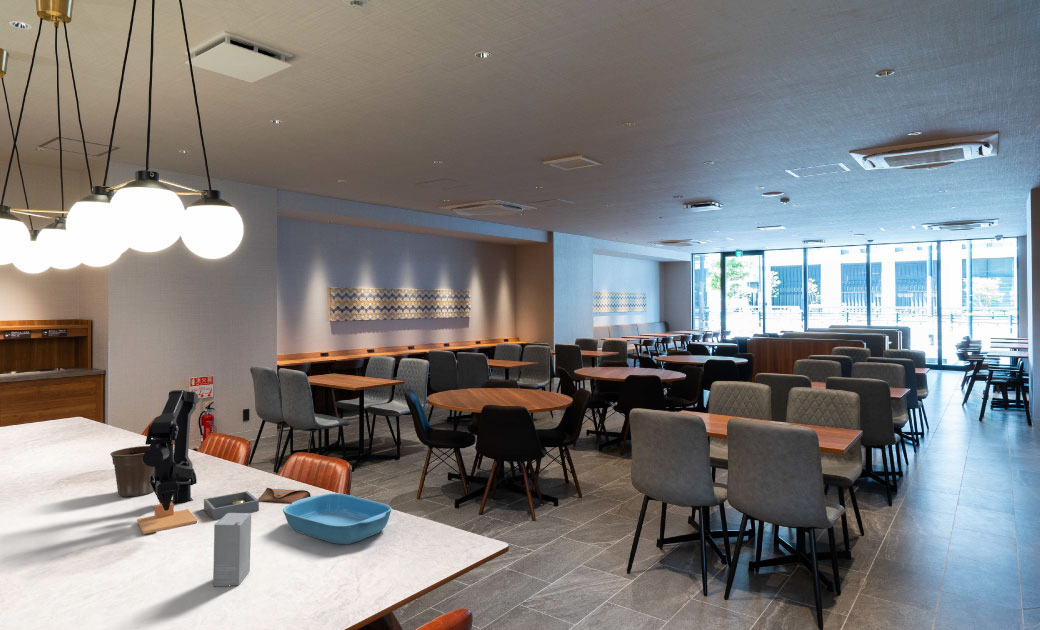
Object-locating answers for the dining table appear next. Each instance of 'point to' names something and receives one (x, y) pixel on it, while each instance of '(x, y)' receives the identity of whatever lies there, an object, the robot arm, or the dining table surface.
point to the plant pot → (132, 471)
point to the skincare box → (232, 549)
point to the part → (238, 501)
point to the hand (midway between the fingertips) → (164, 506)
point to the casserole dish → (337, 517)
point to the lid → (165, 519)
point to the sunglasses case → (283, 495)
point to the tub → (230, 504)
